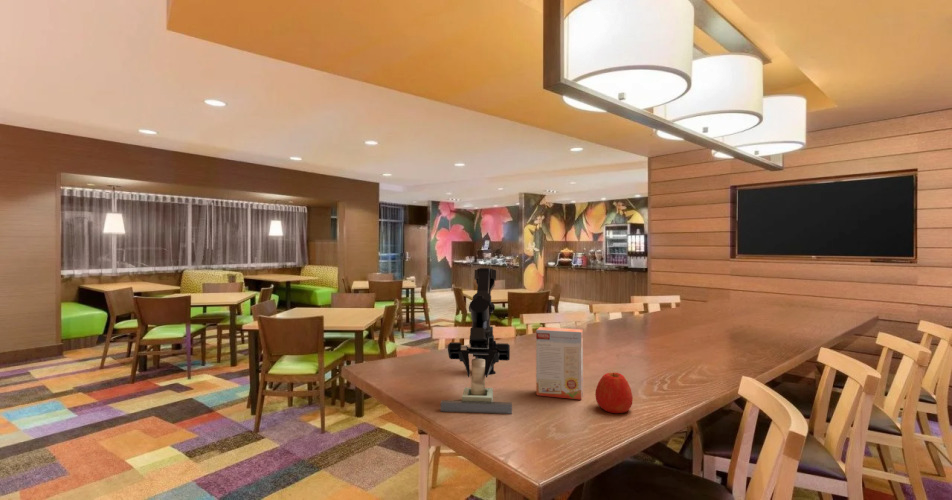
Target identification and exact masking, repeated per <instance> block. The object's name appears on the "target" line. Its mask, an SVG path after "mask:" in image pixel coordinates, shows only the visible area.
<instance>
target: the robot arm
mask: <svg viewBox="0 0 952 500" xmlns="http://www.w3.org/2000/svg"><path fill="white" fill-rule="evenodd" d="M473 274H474V276H473V277H474V280H475V281H476V286H477V288H476V293H474V294H473V296H472V301H470V302H469V305H468V312H469V313H470V319H471V327H470V329H469V330H470V331H469V333H470V335H469V341H468V344H469V346H468V345H463V344H462V342H459V341H458V342H456V341H451V342H449V343H448V344H447V353H448V357H449V359H450V360H459V362H462V363H463V365H464V367H465V370H466V374H467V377H468V378H471V376H470V375H471V372H470V371H471V369H470V357H469V356H470V355H472V357H473V358H474V359H476V358H479V359H485V379H486V378H488V377H489V375H492V374H493V375H494V374H496V371H495V367H494V366H495V364H496V363H499V361H510V359H511V358H510V357H511V356H510V353H511V352H510V349H511V347H510V344H509V343H504V342H503V343H502V342H501V343H500V342H499V343H497V342H496V340H495V337H494V326H491V315H492V314H493V313H494V311H495V309H496V305H495V304H494V302H492V295H491V292H492V291H493V289H494V288H495V286H496V281H497V280H498V279H497V277H498V276H497V275H498V271H497V269H494V268H490V267H479V268H477V269H474V273H473Z"/></svg>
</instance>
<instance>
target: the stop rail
mask: <svg viewBox="0 0 952 500" xmlns="http://www.w3.org/2000/svg"><path fill="white" fill-rule="evenodd" d="M512 404H513V403H512V402H511V401H510V402H508V401H507V402H506V401H493V402H483V401H462V400H450V399H449V400H448V399H447V400H445V399H443V400H440V412H445V413H453V412H454V413H473V414H474V413H475V414H501V415H503V414H505V415H506V414H508V415H512V414H513V407H512V406H513V405H512Z"/></svg>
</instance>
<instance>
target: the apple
mask: <svg viewBox="0 0 952 500" xmlns="http://www.w3.org/2000/svg"><path fill="white" fill-rule="evenodd" d="M594 395H595V401H596V404H597V405H598V406H599V407H600V408H601V409H602V410H604V411H606V413H607V412H608V413H613V414H622V413H626V412H628V411H629V410H630V409H631V408H632V406H633V400H634V397H633V392H632V388H631V386H630V384H629V382H628V380H627V379H626V378H625V376H624V375H623V374H621V373H619V372H607V373H605V374H603V375H601V378H600V379H599V381H598V383H597V385H596V389H595V394H594Z"/></svg>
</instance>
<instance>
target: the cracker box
mask: <svg viewBox="0 0 952 500" xmlns="http://www.w3.org/2000/svg"><path fill="white" fill-rule="evenodd" d="M583 330H584V329H583V328H567V327H566V328H565V327H544V326H539V327H538V328H537V329H536V330H535V331H536V333H535V334H536V335H535V336H536V341H535V343H536V344H535V346H536V349H535V350H536V351H535V353H536V354H535V356H536V357H535V364H536V366H535V367H536V369H535V372H536V373H535V374H536V375H535V384H536V385H535V389H536V391H535V393H536V395H537V396H541V397H542V396H543V397H550V398H559V399H561V398H562V399H569V400H579V401H580V400H582V399H583V395H584V362H583V361H584V345H583V344H584V341H583V340H584V338H583V337H584V334H583V333H584V331H583Z"/></svg>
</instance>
